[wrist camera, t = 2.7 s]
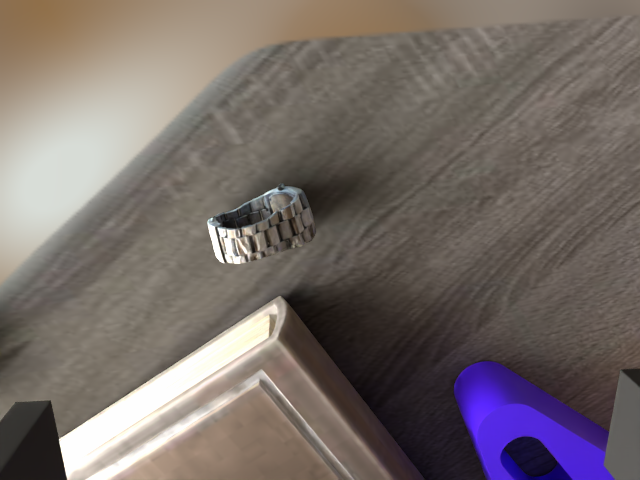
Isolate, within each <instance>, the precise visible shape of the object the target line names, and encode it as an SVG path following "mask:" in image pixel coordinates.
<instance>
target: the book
mask: <svg viewBox="0 0 640 480" xmlns="http://www.w3.org/2000/svg"><path fill="white" fill-rule="evenodd" d="M59 442H60V447H61V451H62V456H63V461H64V465H65V470H66V475H67V480H425V479H424V478H423V476H422V475H421V474H420V472H419V471H418V470H417V469H416V467H415V466H414V465H413V463H412V462H411V461H410V460H409V458H408V457H407V456H406V454H405V453H404V452H403V451H402V449H401V448H400V447H399V445H398V444H397V443H396V442H395V440H394V439H393V438H392V436H391V435H390V434H389V433H388V431H387V430H386V429H385V427H384V426H383V425H382V424H381V422H380V421H379V420H378V418H377V417H376V416H375V414H374V413H373V412H372V411H371V409H370V408H369V407H368V405H367V404H366V403H365V402H364V400H363V399H362V398H361V396H360V395H359V394H358V393H357V391H356V390H355V389H354V387H353V386H352V385H351V384H350V382H349V381H348V380H347V378H346V377H345V376H344V375H343V373H342V372H341V371H340V369H339V368H338V367H337V366H336V364H335V363H334V362H333V360H332V359H331V358H330V357H329V355H328V354H327V353H326V351H325V350H324V349H323V348H322V346H321V345H320V344H319V342H318V341H317V340H316V339H315V337H314V336H313V335H312V333H311V332H310V331H309V330H308V328H307V327H306V326H305V324H304V323H303V322H302V321H301V319H300V318H299V317H298V315H297V314H296V313H295V312H294V310H293V309H292V308H291V306H290V305H289V304H288V303H287V301H286V300H285V299H284V298H283V297H282V296H278V297H277V298H275V299H274V300H272V301H271V302H269V303H267V304H266V305H264V306H263V307H261V308H260V309H258V310H257V311H255V312H254V313H252V314H251V315H249V316H248V317H246V318H244V319H243V320H241V321H240V322H238V323H237V324H235V325H234V326H232V327H231V328H229V329H228V330H226V331H224V332H223V333H221V334H220V335H218V336H217V337H215V338H214V339H212V340H211V341H209V342H208V343H206V344H205V345H203V346H201V347H200V348H198V349H197V350H195V351H194V352H192V353H191V354H189V355H188V356H186V357H185V358H183V359H182V360H180V361H178V362H177V363H175V364H174V365H172V366H171V367H169V368H168V369H166V370H165V371H163V372H162V373H160V374H158V375H157V376H155V377H154V378H152V379H151V380H149V381H148V382H146V383H145V384H143V385H142V386H140V387H139V388H137V389H135V390H134V391H132V392H131V393H129V394H128V395H126V396H125V397H123V398H122V399H120V400H119V401H117V402H116V403H114V404H112V405H111V406H109V407H108V408H106V409H105V410H103V411H102V412H100V413H99V414H97V415H96V416H94V417H92V418H91V419H89V420H88V421H86V422H85V423H83V424H82V425H80V426H79V427H77V428H76V429H74V430H73V431H71V432H69V433H68V434H66V435H65V436H63V437H62V438H60V439H59Z"/></svg>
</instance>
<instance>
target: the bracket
mask: <svg viewBox="0 0 640 480" xmlns="http://www.w3.org/2000/svg"><path fill="white" fill-rule="evenodd" d="M454 396H455V399H456V401H457V404H458V406H459V409H460V412H461V414H462V417H463V420H464V422H465V425H466V427H467V430H468V433H469V435H470V438H471V440H472V443H473V446H474V448H475V451H476V454H477V456H478V459H479V461H480V464H481V467H482V469H483V472H484V474H485V477H486V480H615V479H614V478H613V477H612V475H611V474H610V473H609V472H608V470H607V469H606V468H605V466H604V459H605V453H606V448H607V442H608V437H609V431H607V430H605V429H604V428H602V427H601V426H599V425H597V424H596V423H594V422H593V421H591V420H589V419H588V418H586V417H585V416H583V415H581V414H580V413H578V412H577V411H575V410H573V409H572V408H570V407H569V406H567V405H565V404H564V403H562V402H561V401H559V400H557V399H556V398H554V397H553V396H551V395H549V394H548V393H546V392H545V391H543V390H541V389H540V388H538V387H537V386H535V385H533V384H532V383H530V382H529V381H527V380H525V379H524V378H522V377H521V376H519V375H517V374H516V373H514V372H513V371H511V370H509V369H508V368H506V367H505V366H503V365H501V364H499V363H496V362H492V361H483V362H478V363H475V364H472V365H470V366H469V367H467V368H466V369H464V370H463V371H462V372H461V373H460V375H459V376H458V378H457V380H456V382H455V385H454ZM522 436H531V437H535V438H537V439H539V440H540V441H541V442H542V443H543V444H544V445H545V447H546V448H547V449H548V450H549V451H550V453H551V454H552V455H553V456H554V458H555V459H556V460H557V461H558V463H557V465H556V467H555V468H554V469H553V470H552V471H551V472H550V473H548V474H546V475H544V476H539V477H533V476H529V475H527V474H525V473H524V472H523V471H522V470H521V468H520V467H519V466H518V465H517V464H516V463H515V461H514V460H513V459H512V458H511V457H510V456H509V454H508V453H507V452H506V451H505V450H504V449H503V448H504V447H505V446H506V444H508V443H509V442H510V441H512V440H513V439H515V438H518V437H522Z"/></svg>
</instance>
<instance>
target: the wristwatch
mask: <svg viewBox="0 0 640 480" xmlns="http://www.w3.org/2000/svg"><path fill="white" fill-rule="evenodd" d="M207 223H208V228H209V232H210V236H211V239H212V242H213V247H214V251H215V254H216V257H217V258H218V259H219V261H220V262H222V263H235V264H238V263H246V262H248V261H254V260H258V259H262V258H263V257H268V256H271V255H274V254H276V253H278V252H282V251H285V250H287V249H291V248H296V247H300V246H302V245H303V244H304V243H307V242H310V241H311V240H312V239H313V237H314V236H315V233H316V229H315V223H314V219H313V215H312V212H311V209H310V206H309V203H308V201H307V198H306V196H305V193H304V191H303V190H301V189H299V188H295V187H291V186H285V185H284V184H283V183H281V184H280V185H278V186H277V188H276V189H272V190H270V191H268V192H266V193H265V194H264V195H261V196H259V197H257V198H255V199H253V200H252V201H248V202H245V203H244V204H242V205H241V206H240V207H239V208H237V209H234V210H231V211H228V212H227V213H224V212H223V213H221V214H218V215H216V216H214V217H213V218H209V219H208V222H207ZM286 240H288V241H286Z"/></svg>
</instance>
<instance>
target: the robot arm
mask: <svg viewBox="0 0 640 480" xmlns="http://www.w3.org/2000/svg"><path fill="white" fill-rule="evenodd" d="M604 466H605V468H606V469H607V470H608V472H609V473H610V474H611V475H612V477H613V478H614V479H615V480H640V369H624V370H620V375H619V381H618V386H617V392H616V397H615V403H614V409H613V414H612V420H611V425H610V431H609V437H608V442H607V448H606V453H605V459H604ZM0 480H67V475H66V470H65V465H64V461H63V456H62V451H61V447H60V442H59V437H58V433H57V428H56V423H55V418H54V414H53V409H52V404H51V401H33V402H15V404H14V405H13V406H12V407H11V409H10V410H9V411H8V412H7V414H6V415H5V416H4V417H3V418H2V420H1V421H0Z"/></svg>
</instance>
